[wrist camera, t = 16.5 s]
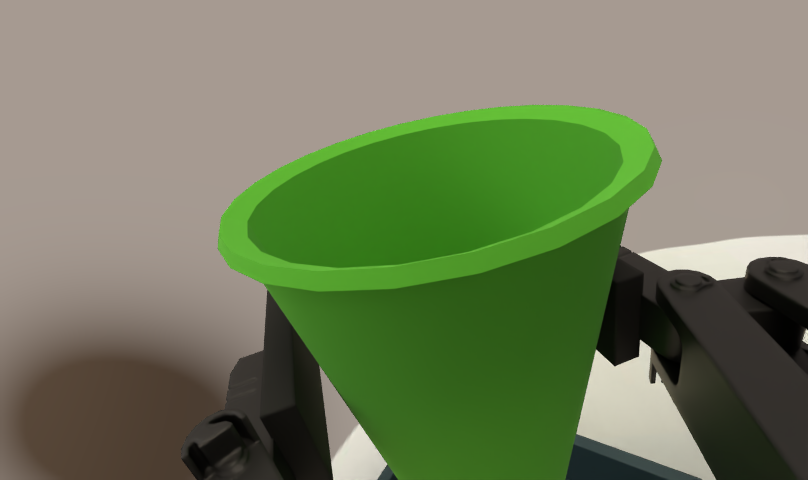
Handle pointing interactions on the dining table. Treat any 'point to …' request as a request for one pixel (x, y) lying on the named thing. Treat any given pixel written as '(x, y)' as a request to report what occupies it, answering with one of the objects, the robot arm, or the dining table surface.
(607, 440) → the dining table surface
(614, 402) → the dining table surface
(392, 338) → the cup
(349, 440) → the dining table surface
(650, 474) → the holder
